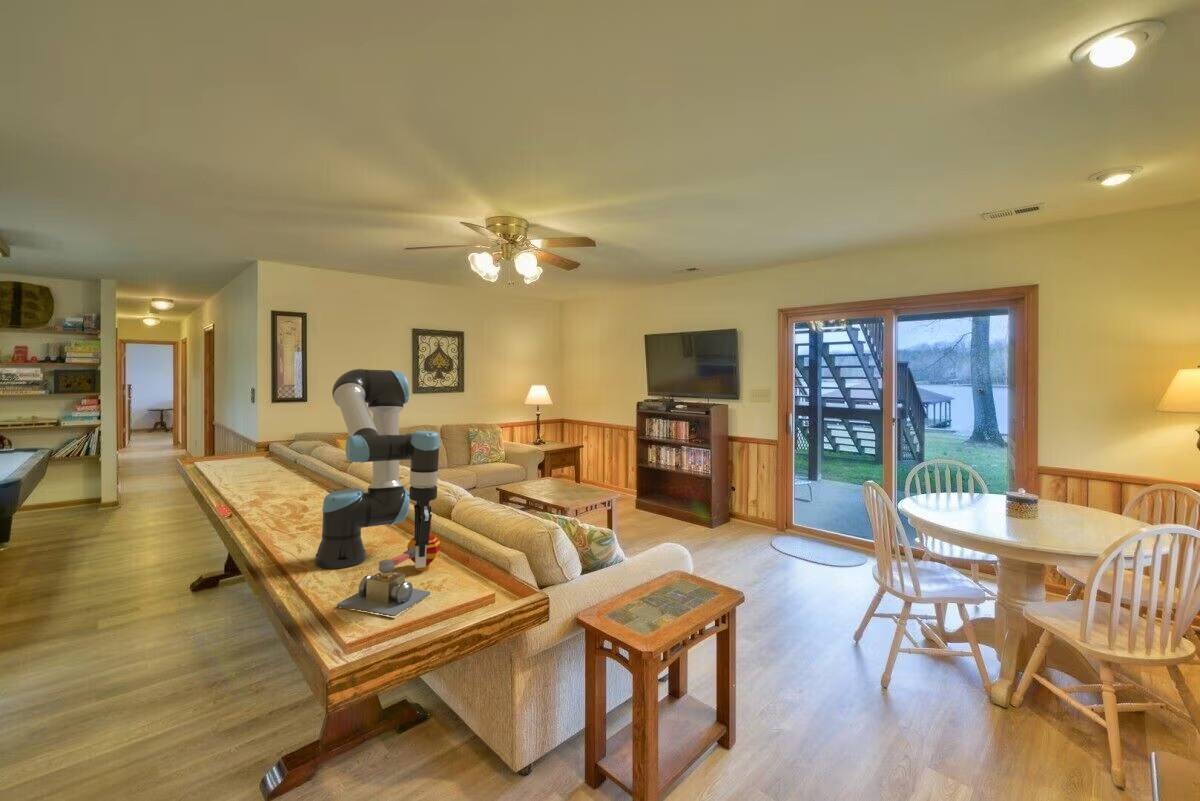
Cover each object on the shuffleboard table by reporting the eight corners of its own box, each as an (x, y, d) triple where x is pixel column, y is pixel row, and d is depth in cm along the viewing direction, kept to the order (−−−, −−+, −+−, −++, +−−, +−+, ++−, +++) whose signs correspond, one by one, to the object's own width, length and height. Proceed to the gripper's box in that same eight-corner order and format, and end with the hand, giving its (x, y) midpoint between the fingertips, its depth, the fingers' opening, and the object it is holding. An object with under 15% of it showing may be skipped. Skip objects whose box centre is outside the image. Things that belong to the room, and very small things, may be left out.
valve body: (355, 601, 141) (356, 571, 141) (372, 591, 148) (373, 562, 148) (398, 609, 138) (400, 579, 137) (414, 599, 144) (416, 570, 144)
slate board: (336, 607, 137) (337, 603, 137) (377, 585, 153) (377, 582, 153) (394, 619, 133) (394, 615, 133) (430, 595, 148) (430, 591, 148)
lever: (388, 572, 140) (388, 565, 140) (375, 570, 141) (375, 563, 141) (422, 554, 155) (423, 548, 155) (411, 552, 157) (411, 546, 156)
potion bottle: (405, 563, 171) (407, 519, 170) (437, 561, 175) (439, 517, 175) (406, 575, 161) (408, 528, 161) (440, 572, 166) (443, 526, 165)
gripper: (442, 489, 142) (438, 572, 143) (432, 480, 154) (429, 557, 155) (414, 490, 139) (410, 576, 139) (406, 481, 150) (402, 560, 151)
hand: (420, 566), depth 147 cm, fingers closed
